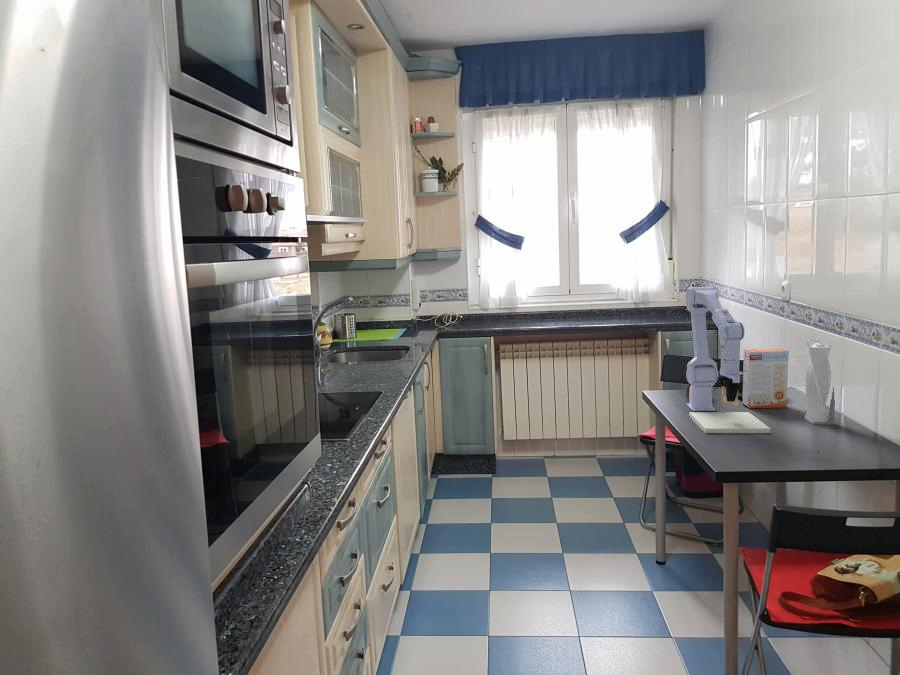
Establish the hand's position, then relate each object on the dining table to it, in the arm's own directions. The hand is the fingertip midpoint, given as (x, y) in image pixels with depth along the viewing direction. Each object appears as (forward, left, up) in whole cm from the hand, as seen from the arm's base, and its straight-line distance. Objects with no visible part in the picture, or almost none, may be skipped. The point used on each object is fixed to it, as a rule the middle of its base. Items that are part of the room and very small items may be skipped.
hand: (728, 399), depth 229 cm
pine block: (0, 0, -2) cm, 2 cm away
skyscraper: (-4, +30, -9) cm, 31 cm away
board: (0, 0, -8) cm, 8 cm away
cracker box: (-24, +20, -9) cm, 32 cm away
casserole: (-41, +22, -9) cm, 47 cm away
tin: (-35, -1, -9) cm, 36 cm away
